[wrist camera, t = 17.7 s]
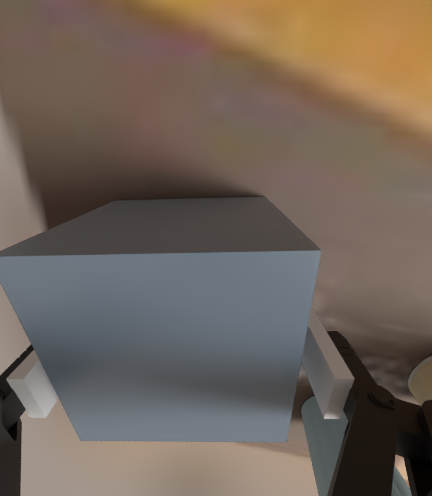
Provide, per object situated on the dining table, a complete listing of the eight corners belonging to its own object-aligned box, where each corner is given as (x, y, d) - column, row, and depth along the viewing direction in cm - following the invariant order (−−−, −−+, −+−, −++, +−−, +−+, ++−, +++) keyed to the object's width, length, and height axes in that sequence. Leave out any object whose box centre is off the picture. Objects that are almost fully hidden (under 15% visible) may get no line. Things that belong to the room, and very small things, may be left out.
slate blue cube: (114, 200, 15) (-13, 257, 7) (264, 196, 14) (321, 250, 6) (140, 317, 19) (80, 440, 11) (257, 316, 18) (286, 442, 10)
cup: (363, 424, 24) (454, 598, 15) (294, 431, 25) (338, 600, 16) (365, 380, 21) (479, 560, 12) (287, 390, 22) (336, 565, 13)
